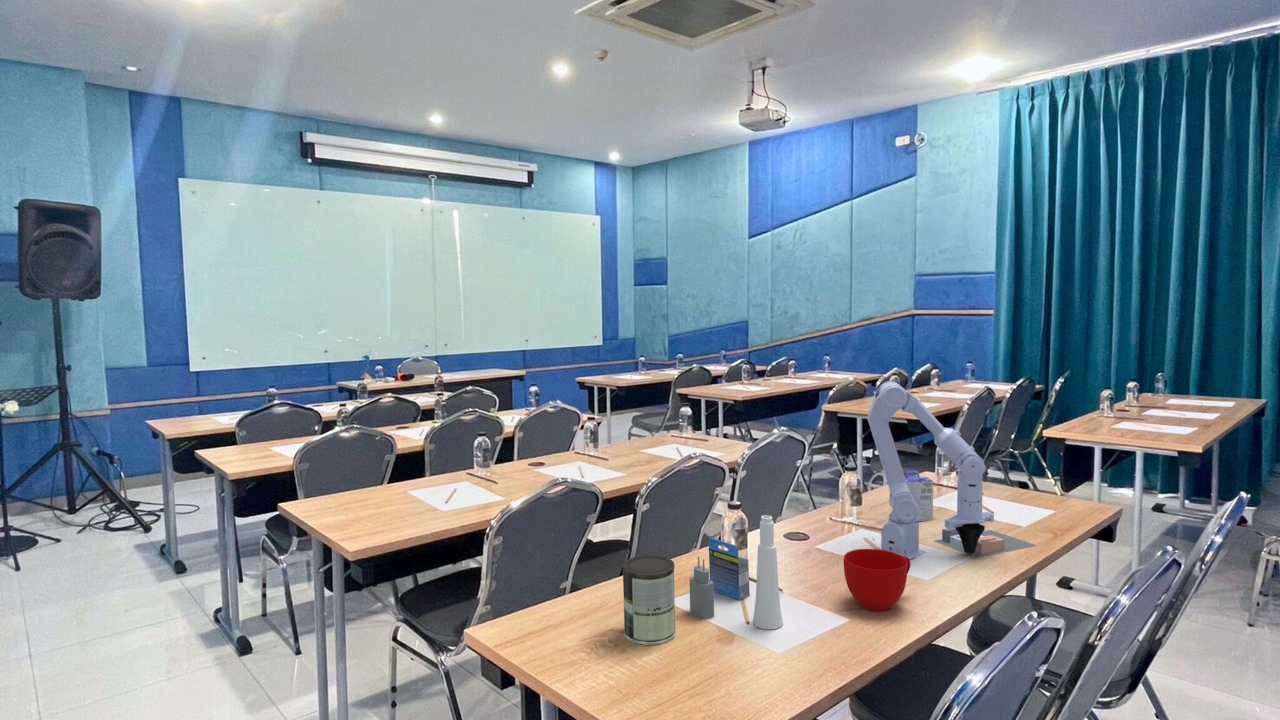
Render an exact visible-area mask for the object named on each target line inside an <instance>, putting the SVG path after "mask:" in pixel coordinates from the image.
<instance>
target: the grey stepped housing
mask: <svg viewBox="0 0 1280 720" xmlns="http://www.w3.org/2000/svg"><path fill="white" fill-rule="evenodd" d="M980 537H984V536H982V535H981V536H980ZM941 539H942V541H943V542H946V543H948V542H950V543H953V544H956V545H958V546H961V547H963V545H962V541H961V538H960V536H959V534H958V532H957V530H956V529H955V527H954V529H949V528H943V529H942V530H941Z"/></svg>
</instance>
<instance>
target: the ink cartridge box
mask: <svg viewBox="0 0 1280 720" xmlns="http://www.w3.org/2000/svg"><path fill="white" fill-rule="evenodd" d="M905 471H906V472H905V475H906V476H905V479H906V482H907V485H908V488H909V490H910V492H911V493H912V495H913V496H914V499H915V501H916V502H917V504H918V506H919V515H918V517H919V522H931V521H932V522H933V521H934V481H933V480H932V479H931V478H929V477H926V476H923V477H922V476H920V473H919V470H916V469H914V470H912V469H911V470H909V469H908V470H905ZM911 473H914V474H911Z"/></svg>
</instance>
